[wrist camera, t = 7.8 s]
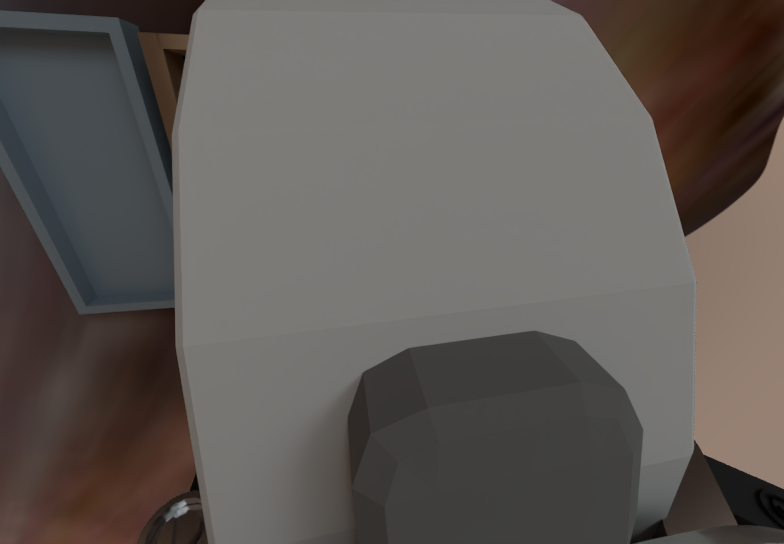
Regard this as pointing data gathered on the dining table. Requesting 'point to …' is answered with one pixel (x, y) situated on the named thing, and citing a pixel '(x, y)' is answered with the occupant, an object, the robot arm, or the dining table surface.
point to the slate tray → (89, 156)
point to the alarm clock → (425, 278)
